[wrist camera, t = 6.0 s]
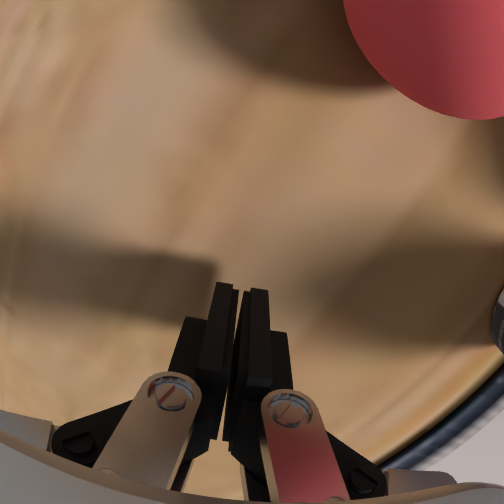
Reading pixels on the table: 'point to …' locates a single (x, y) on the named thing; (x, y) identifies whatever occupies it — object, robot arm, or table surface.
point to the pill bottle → (498, 323)
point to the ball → (436, 51)
